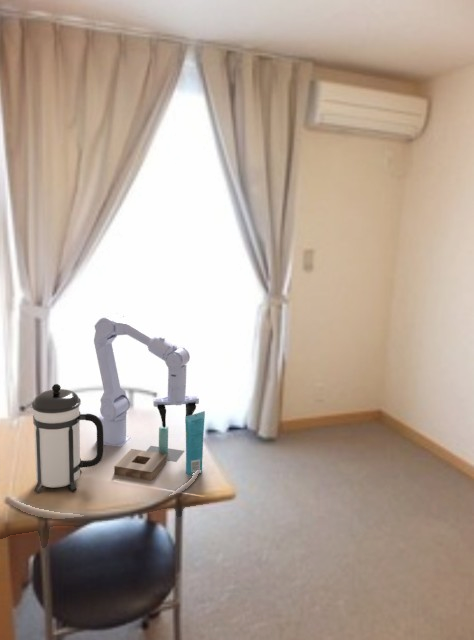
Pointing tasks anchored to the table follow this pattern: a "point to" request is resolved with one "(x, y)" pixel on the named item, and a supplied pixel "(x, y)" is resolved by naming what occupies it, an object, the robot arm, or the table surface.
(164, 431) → the peg
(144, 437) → the table surface
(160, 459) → the hole block
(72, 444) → the coffee press
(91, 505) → the table surface
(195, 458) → the teal shampoo bottle
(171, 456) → the mat
